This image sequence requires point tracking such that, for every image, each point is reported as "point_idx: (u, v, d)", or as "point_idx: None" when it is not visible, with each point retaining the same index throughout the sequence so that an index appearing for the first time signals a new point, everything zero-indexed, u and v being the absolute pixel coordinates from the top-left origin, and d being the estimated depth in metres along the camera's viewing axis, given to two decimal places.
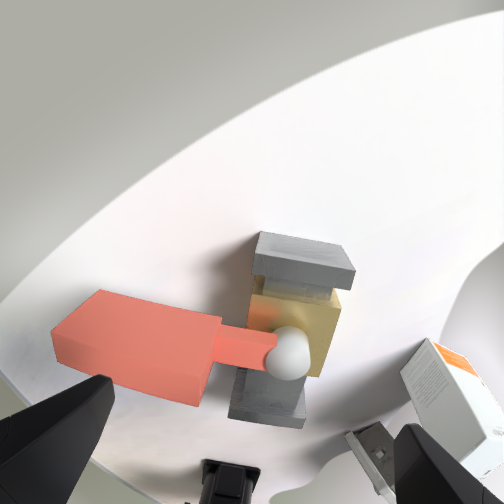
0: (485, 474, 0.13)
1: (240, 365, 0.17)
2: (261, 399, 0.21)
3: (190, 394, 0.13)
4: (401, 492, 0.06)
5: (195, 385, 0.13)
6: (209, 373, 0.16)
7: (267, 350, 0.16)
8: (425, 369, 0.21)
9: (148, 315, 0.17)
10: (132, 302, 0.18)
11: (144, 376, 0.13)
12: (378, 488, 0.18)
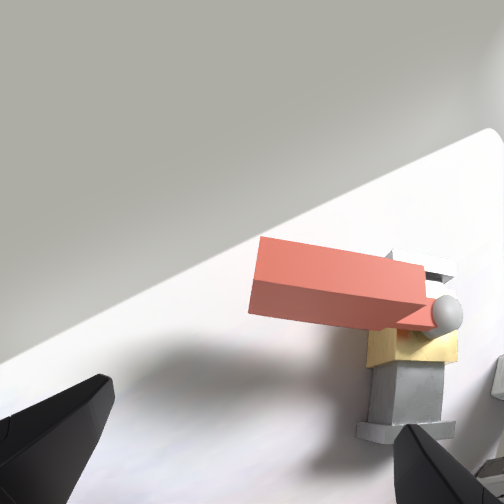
0: None
1: (414, 325, 0.16)
2: (410, 414, 0.16)
3: (419, 288, 0.13)
4: (401, 492, 0.06)
5: (422, 275, 0.13)
6: (401, 318, 0.15)
7: (432, 303, 0.16)
8: None
9: None
10: None
11: (377, 273, 0.13)
12: None
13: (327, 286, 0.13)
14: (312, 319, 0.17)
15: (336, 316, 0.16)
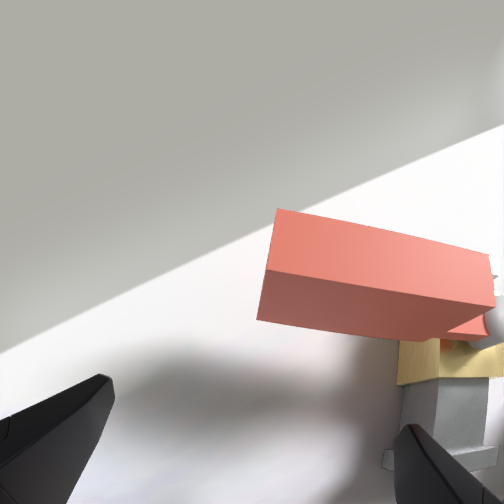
0: None
1: (466, 334, 0.11)
2: (451, 441, 0.12)
3: (486, 284, 0.08)
4: (401, 491, 0.06)
5: (487, 267, 0.09)
6: None
7: None
8: None
9: None
10: None
11: (438, 264, 0.09)
12: None
13: (374, 281, 0.08)
14: (341, 328, 0.12)
15: (374, 324, 0.11)
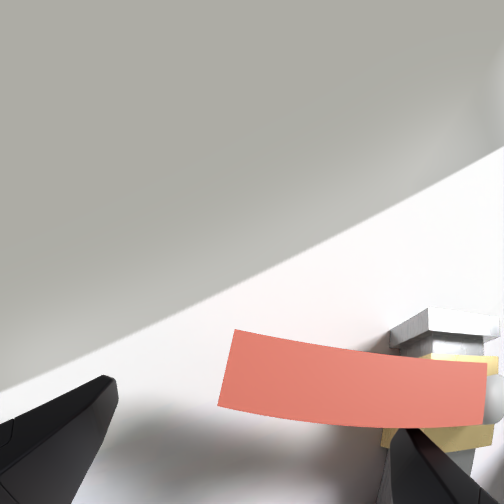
0: None
1: None
2: None
3: (476, 401, 0.07)
4: (398, 492, 0.06)
5: (482, 379, 0.07)
6: None
7: None
8: None
9: None
10: None
11: (423, 387, 0.07)
12: None
13: (341, 418, 0.07)
14: None
15: None
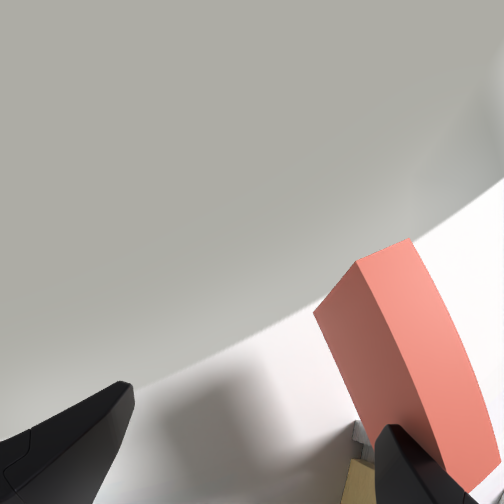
0: None
1: None
2: None
3: (472, 478, 0.05)
4: (382, 493, 0.06)
5: (489, 468, 0.05)
6: None
7: None
8: None
9: None
10: None
11: (465, 414, 0.06)
12: None
13: (411, 361, 0.07)
14: (353, 387, 0.11)
15: (374, 410, 0.09)
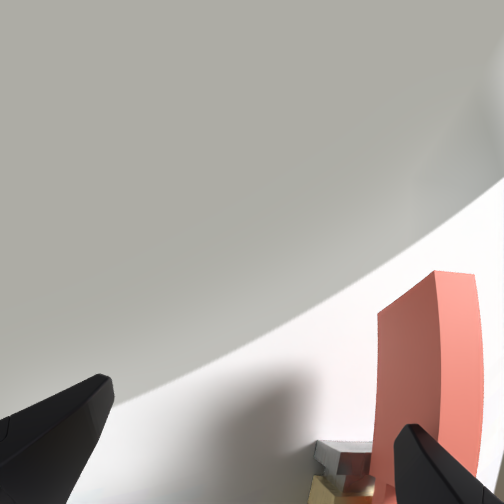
0: None
1: None
2: None
3: None
4: (402, 492, 0.06)
5: None
6: None
7: None
8: None
9: None
10: None
11: (465, 424, 0.07)
12: None
13: (445, 358, 0.08)
14: (383, 384, 0.12)
15: (394, 406, 0.11)
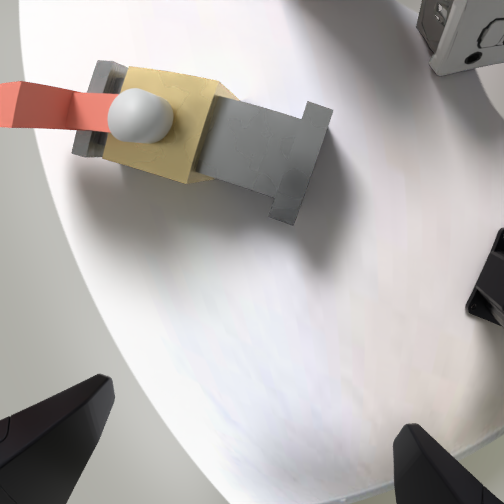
0: None
1: (87, 129, 0.12)
2: (271, 166, 0.15)
3: (9, 109, 0.09)
4: (401, 492, 0.06)
5: (15, 93, 0.09)
6: (51, 127, 0.12)
7: (112, 101, 0.12)
8: None
9: None
10: None
11: None
12: None
13: None
14: None
15: None
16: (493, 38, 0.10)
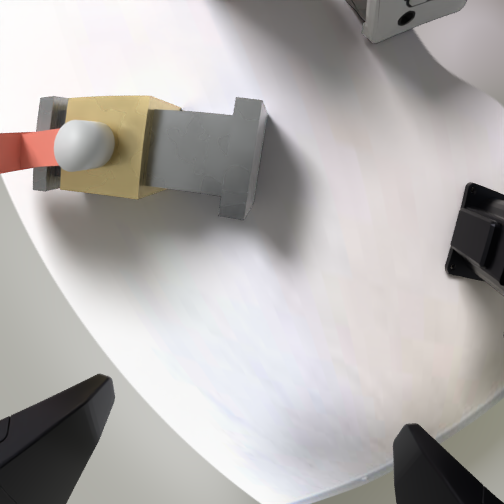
0: None
1: (39, 166, 0.13)
2: (214, 167, 0.15)
3: None
4: (401, 491, 0.06)
5: None
6: (6, 170, 0.12)
7: (56, 136, 0.12)
8: None
9: None
10: None
11: None
12: None
13: None
14: None
15: None
16: None
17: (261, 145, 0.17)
